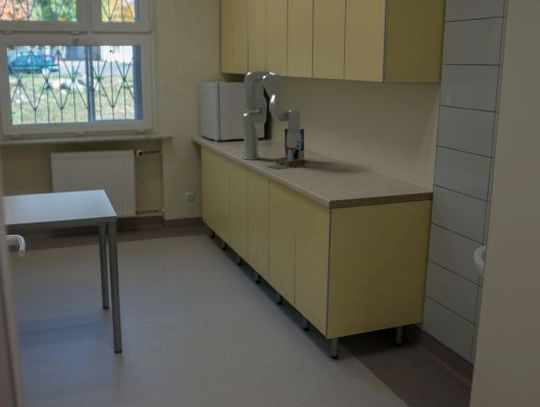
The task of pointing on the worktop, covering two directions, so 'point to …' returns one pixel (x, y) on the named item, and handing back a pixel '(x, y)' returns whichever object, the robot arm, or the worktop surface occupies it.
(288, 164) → the rack
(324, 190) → the worktop surface
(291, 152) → the tall pale blue pillar
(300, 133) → the blue printed long box
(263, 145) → the worktop surface
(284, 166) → the mat
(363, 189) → the worktop surface
